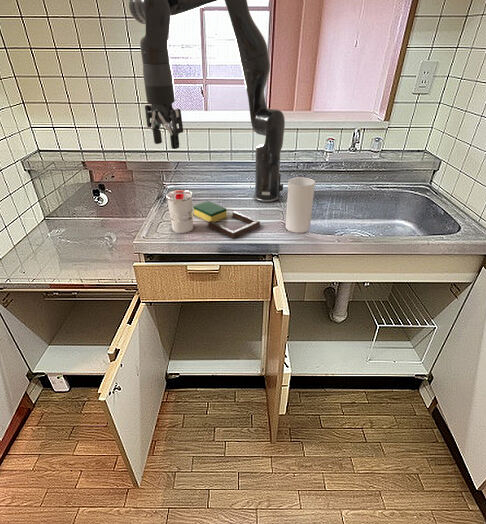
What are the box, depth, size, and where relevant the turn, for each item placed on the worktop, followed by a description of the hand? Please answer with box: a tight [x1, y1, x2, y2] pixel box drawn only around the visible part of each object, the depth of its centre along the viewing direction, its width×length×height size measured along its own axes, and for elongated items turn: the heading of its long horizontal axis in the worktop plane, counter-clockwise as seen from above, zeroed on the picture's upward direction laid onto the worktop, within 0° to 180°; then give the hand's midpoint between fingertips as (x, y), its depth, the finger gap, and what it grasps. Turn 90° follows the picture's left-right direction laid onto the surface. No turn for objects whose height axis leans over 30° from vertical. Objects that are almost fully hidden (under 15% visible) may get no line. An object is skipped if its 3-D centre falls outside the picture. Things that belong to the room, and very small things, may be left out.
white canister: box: [165, 189, 194, 234], centre depth 116 cm, size 10×8×12 cm
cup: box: [284, 176, 316, 234], centre depth 115 cm, size 8×8×16 cm
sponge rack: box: [207, 210, 261, 240], centre depth 120 cm, size 12×12×2 cm
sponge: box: [192, 200, 228, 223], centre depth 127 cm, size 7×10×3 cm
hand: (166, 145), depth 102 cm, fingers open, 8 cm apart
